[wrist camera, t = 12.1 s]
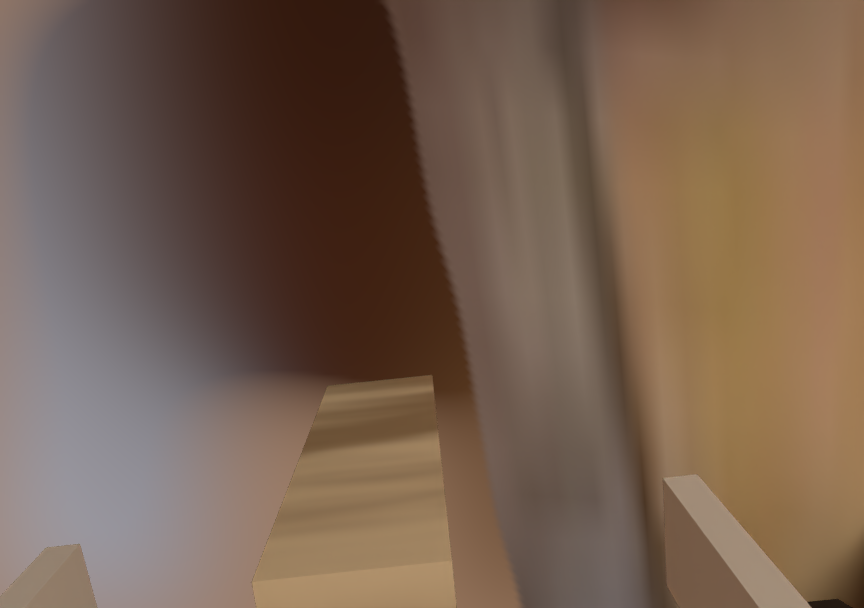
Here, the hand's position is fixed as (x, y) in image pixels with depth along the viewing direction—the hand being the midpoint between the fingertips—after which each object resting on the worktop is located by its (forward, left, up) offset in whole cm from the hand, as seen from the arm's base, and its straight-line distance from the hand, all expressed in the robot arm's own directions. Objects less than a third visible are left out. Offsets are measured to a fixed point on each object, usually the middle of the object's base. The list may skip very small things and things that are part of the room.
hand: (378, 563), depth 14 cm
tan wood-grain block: (+8, 0, -10) cm, 13 cm away
